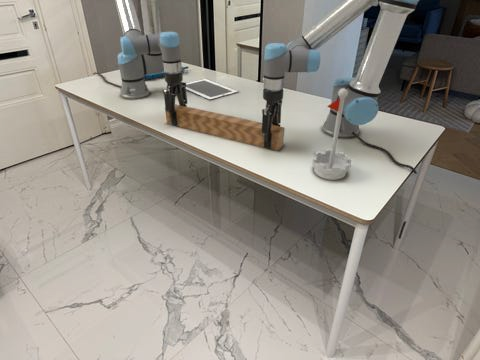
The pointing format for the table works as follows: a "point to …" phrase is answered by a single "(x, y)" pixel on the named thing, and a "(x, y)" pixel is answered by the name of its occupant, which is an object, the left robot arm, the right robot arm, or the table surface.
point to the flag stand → (333, 149)
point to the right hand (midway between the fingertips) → (270, 144)
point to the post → (226, 126)
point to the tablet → (208, 89)
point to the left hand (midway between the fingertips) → (178, 122)
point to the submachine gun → (159, 74)
